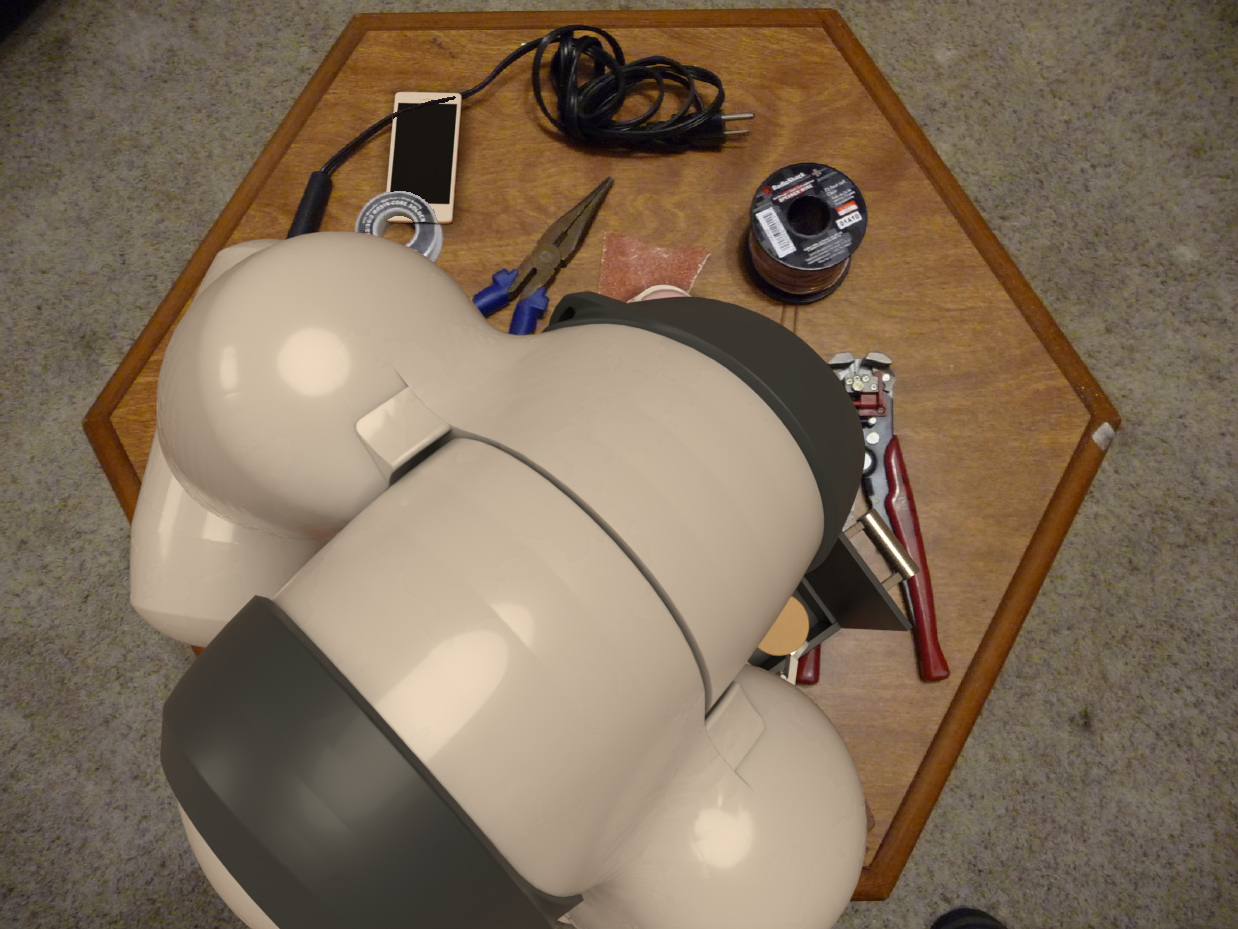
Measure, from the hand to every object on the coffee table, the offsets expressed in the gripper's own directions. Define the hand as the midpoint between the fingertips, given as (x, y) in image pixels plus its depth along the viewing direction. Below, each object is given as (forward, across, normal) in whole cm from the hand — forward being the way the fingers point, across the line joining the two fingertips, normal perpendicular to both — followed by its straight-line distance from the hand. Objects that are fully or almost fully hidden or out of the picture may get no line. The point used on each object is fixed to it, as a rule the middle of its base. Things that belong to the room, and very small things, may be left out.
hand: (772, 612), depth 64 cm
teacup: (+16, +26, +13) cm, 33 cm away
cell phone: (+15, +61, +13) cm, 64 cm away
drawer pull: (+6, -2, 0) cm, 6 cm away
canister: (-1, 0, +7) cm, 7 cm away
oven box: (-1, 0, +13) cm, 13 cm away
